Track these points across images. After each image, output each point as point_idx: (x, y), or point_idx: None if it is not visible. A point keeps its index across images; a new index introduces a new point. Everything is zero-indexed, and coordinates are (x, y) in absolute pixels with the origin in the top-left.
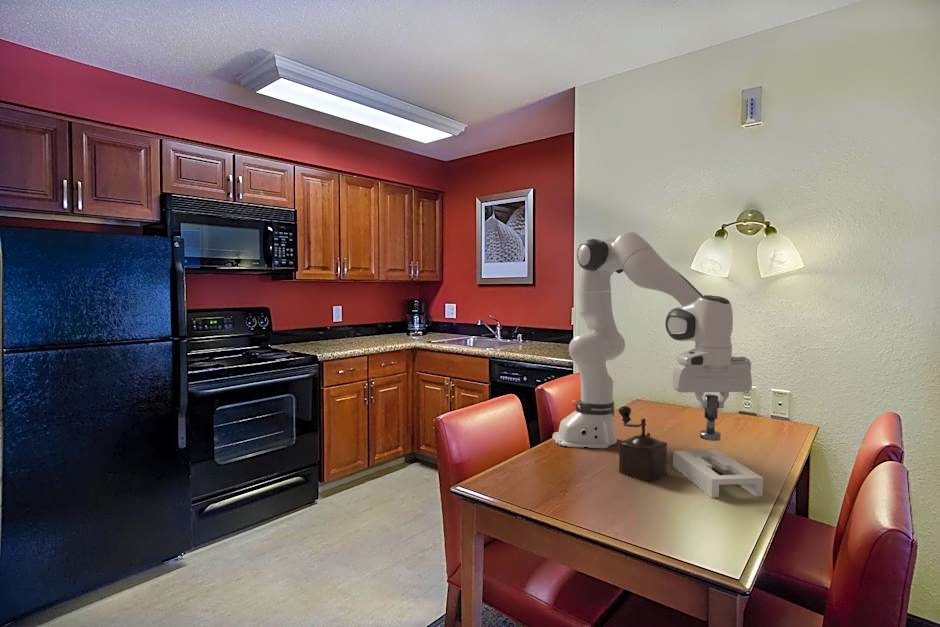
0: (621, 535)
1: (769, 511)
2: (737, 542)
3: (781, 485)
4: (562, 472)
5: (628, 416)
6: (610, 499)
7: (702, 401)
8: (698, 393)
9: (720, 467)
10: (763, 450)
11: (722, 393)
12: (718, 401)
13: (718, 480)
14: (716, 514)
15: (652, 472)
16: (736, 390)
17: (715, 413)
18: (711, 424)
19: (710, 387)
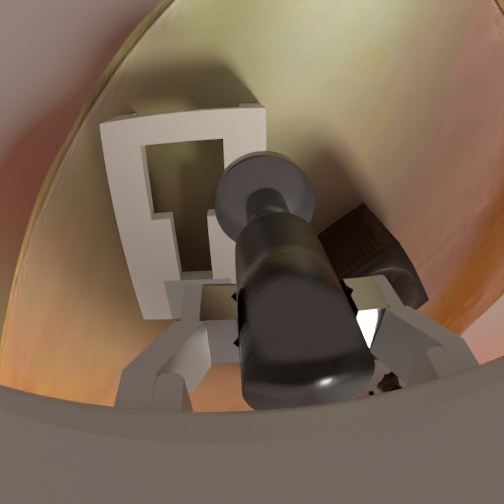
0: (493, 13)
1: (149, 30)
2: None
3: (52, 186)
4: (475, 258)
5: (391, 387)
6: (471, 133)
7: (405, 312)
8: (475, 360)
9: (174, 227)
10: (49, 347)
11: (187, 409)
12: (225, 342)
13: (243, 108)
14: (297, 17)
15: (365, 217)
16: (23, 404)
17: (275, 234)
18: (280, 209)
19: (428, 440)
